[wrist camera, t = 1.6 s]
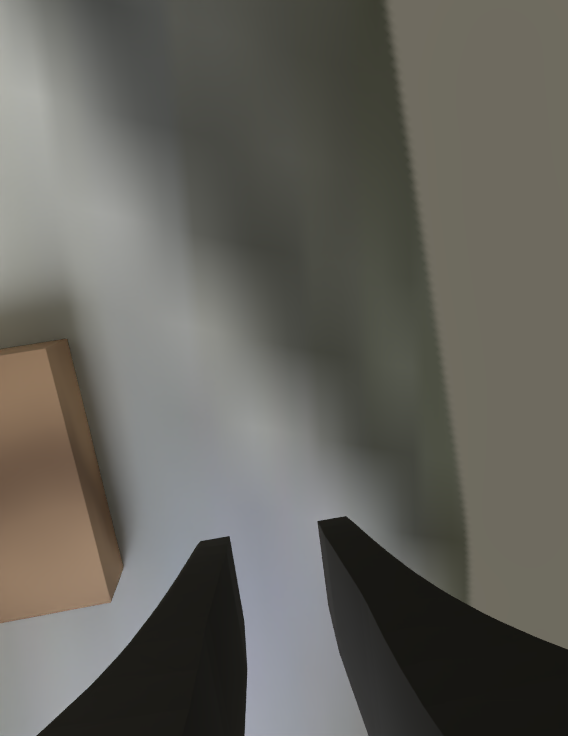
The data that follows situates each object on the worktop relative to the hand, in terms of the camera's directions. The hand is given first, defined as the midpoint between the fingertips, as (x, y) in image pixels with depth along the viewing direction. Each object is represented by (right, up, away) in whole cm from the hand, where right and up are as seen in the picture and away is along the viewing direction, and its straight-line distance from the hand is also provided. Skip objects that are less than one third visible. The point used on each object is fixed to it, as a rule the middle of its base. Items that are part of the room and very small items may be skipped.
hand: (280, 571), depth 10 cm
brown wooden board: (-10, 0, +8) cm, 13 cm away
